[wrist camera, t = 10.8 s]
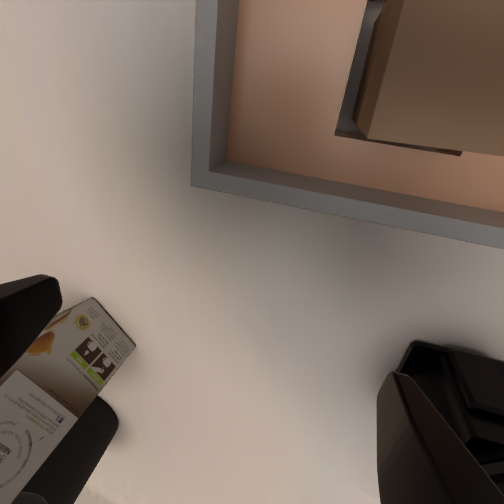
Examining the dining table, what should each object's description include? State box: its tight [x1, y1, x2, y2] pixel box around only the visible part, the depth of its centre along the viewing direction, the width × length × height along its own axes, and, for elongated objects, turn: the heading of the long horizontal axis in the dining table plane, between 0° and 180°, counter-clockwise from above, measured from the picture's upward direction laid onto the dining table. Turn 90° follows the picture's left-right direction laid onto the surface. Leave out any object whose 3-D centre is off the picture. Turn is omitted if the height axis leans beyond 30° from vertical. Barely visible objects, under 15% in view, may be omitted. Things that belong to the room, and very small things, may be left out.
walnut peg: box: [352, 0, 504, 156], centre depth 11 cm, size 4×4×8 cm
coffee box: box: [0, 298, 135, 504], centre depth 22 cm, size 9×6×16 cm
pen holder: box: [11, 396, 117, 504], centre depth 31 cm, size 9×9×10 cm
